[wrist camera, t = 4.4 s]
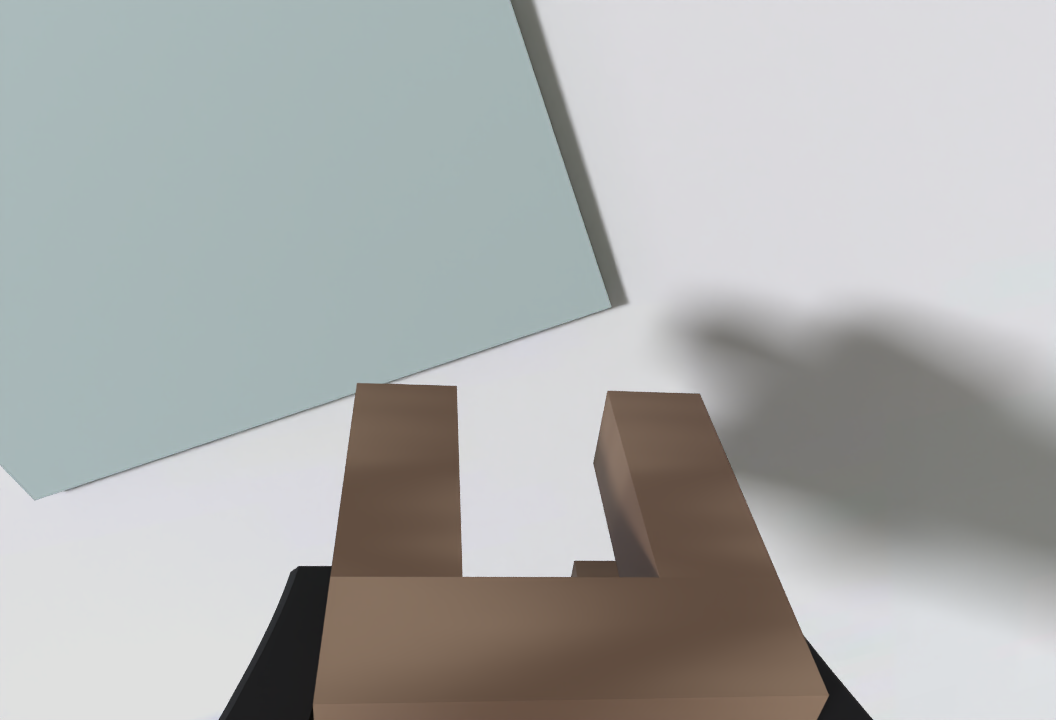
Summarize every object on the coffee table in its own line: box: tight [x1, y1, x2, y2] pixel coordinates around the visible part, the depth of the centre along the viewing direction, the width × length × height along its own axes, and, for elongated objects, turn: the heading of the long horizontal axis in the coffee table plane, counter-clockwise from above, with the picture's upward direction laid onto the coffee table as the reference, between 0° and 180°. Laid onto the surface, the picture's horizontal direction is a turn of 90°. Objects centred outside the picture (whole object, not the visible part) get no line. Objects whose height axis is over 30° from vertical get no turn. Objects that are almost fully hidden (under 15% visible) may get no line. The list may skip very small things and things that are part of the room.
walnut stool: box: [313, 383, 829, 720], centre depth 11 cm, size 5×5×5 cm
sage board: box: [0, 0, 611, 500], centre depth 16 cm, size 15×15×1 cm
